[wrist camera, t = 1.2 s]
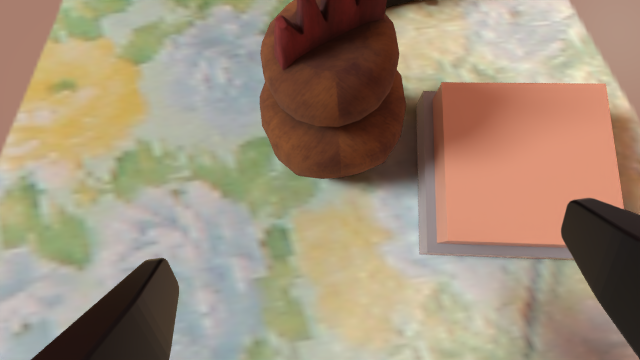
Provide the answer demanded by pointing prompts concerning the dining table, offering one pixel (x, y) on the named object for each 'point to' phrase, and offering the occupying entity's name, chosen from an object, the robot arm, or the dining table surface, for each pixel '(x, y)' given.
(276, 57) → the wooden figurine
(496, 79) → the dining table surface
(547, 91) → the brick plinth
